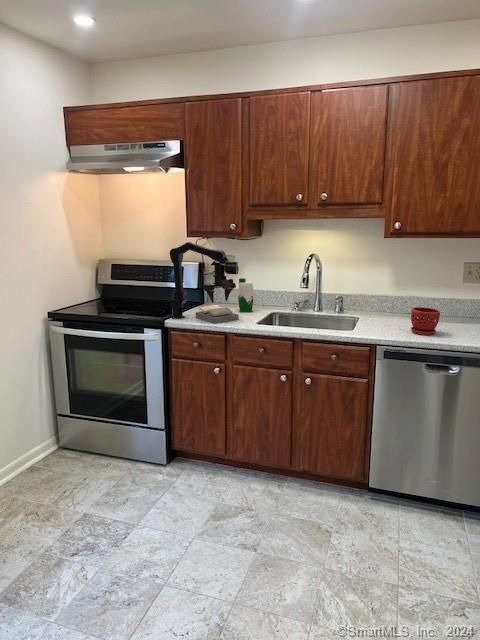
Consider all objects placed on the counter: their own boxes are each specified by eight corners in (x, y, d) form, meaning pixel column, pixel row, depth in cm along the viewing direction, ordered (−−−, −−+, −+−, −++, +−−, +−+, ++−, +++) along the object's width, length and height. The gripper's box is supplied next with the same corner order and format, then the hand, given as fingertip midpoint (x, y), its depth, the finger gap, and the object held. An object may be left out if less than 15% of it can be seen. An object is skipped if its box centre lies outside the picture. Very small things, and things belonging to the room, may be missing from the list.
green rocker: (208, 313, 259) (209, 309, 258) (226, 310, 266) (226, 307, 265) (214, 317, 255) (214, 313, 254) (232, 314, 262) (232, 311, 261)
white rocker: (199, 310, 267) (199, 307, 266) (216, 307, 274) (216, 304, 273) (204, 314, 263) (205, 310, 262) (222, 311, 270) (222, 308, 269)
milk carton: (238, 309, 289) (238, 277, 285) (252, 309, 289) (253, 277, 285) (238, 312, 281) (238, 279, 276) (253, 312, 281) (253, 279, 276)
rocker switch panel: (195, 317, 267) (195, 312, 267) (218, 314, 277) (218, 308, 276) (214, 323, 252) (214, 318, 251) (238, 319, 261) (238, 314, 260)
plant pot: (420, 337, 223) (422, 312, 220) (404, 330, 235) (406, 307, 232) (443, 335, 226) (446, 311, 223) (427, 329, 238) (429, 306, 235)
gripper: (213, 276, 244) (213, 305, 248) (241, 274, 255) (241, 302, 258) (202, 274, 253) (202, 302, 256) (230, 272, 264) (230, 299, 267)
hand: (219, 301), depth 259 cm, fingers open, 9 cm apart
